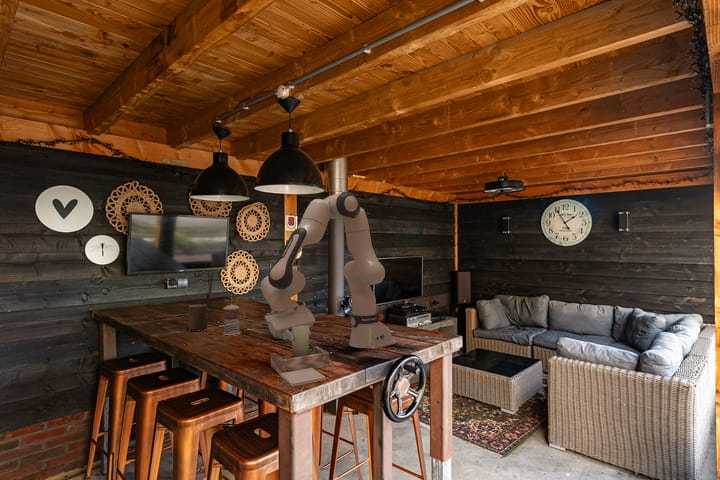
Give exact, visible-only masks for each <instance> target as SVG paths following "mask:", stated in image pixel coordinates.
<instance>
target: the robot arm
mask: <svg viewBox="0 0 720 480" xmlns="http://www.w3.org/2000/svg"><path fill="white" fill-rule="evenodd" d="M367 216H368V215H367V213H366V211H365V209H364V208H363V207H361V205H360V201H359V199H358V197H357V196H356V195H355V194H354V193H352V192H346V191H344V192H338V193H334V194H332V195H329V196H326V197H324V198H323V199H321V198H315V199H313V200H311V201H310V203H309V204H308V206H307V207H306V209H305V210H304V213H303V216H302V218H301V220H300V222H299V224H298V226H297V227H296V228H295V229H294V230H293V231H292V233H291V234H290V236H289V238H288V239H287V242H286V243H285V245H284V247H283V249H282V250H281V253H280V255H279V256H278V258H277V260H276V261H275V262H274V264H272V266H271V267H270V268H269V271H268V274H267V275H266V277H264V278H263V279H262V281H261V283H260V290H261V293H262V295H263V297H264V299H265V301H266V302H267V303H268V304H269V306H270V310H271V311H273V312H271V311H270V312H267V313H266V314H265V315H264V320H265V322H266V323H267V324H266V325H267V327H268V329H269V331H270V333H271V334H272V336H273V335H278V334H282V333H283V334H284V335H285V336H286V337H288V338H289V339H288V340H289V341H290V342H292V341H294V340H295V336H294V334H293V335H292V334H290V333H289V332H290V331H292V327H294V326H298V325H302V324H304V325H308V332H309V337H311V336H312V333H311V331H310V327H313V325H314V324H315V322H316V318H315V316H314V314H313V312H312V311H311V310H310V308H309V307H306V306H307V304H306V302H305V301H303V300H296V299H292V297H294V296H296V295H298V294H299V293H301V292H302V291H303V290H304V288H305V287H306V283H307V281H306V277H305V275H304V274H303V273H302V272H300V271H299V270H298V269H295V268H294V263H295V262H296V259H297V257H298V255H299V254H300V251H301V249H302V248H303V247H304V246H305V245H314V244H317V243H319V242H320V241H321V240H322V238H323V237H324V235H325V232H326V229H327V226H328V224H329V221H330V220H339V219H342V221H343V224H344V229H345V238H346V245H347V249H348V252H350V254H351V256H352V257H353V260H351V261H348V262H347V263H346V264H345V265H344V267H343V276H344V278H345V279H346V280H347V284H348V287H349V292H350V297H351V315H350V316H351V317H350V319H351V321H350V322H351V332H350V338H349V343H348V345H349V346H350V347H352V348H357V349H371V350H375V349H380V348H385V347H387V346H392V345H395V344H398V341H397V340H396V338H394V337H392V330H391V329H390V328H389V327H388V326H386V325H385V324H384V323H383V322H381V321H380V320H383V319H384V317H385V316H384V315H383V314H381V313H380V314H378V313H377V305H376V304H377V303H376V302H377V301H376V299H377V298H376V295H375V293H374V292H373V290H372V287H371V286H372V285H373V286H374V285H378V284H380V283H381V282H383V281H384V279H385V276H386V270H385V267H384V265H383V264H382V263H381V262H380V260H379V259H378V257H377V254H376V253H375V250H374V247H373V244H372V239H371V233H370V226H369V225H370V224H369V221H368V217H367Z"/></svg>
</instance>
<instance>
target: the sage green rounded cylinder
mask: <svg viewBox="0 0 720 480" xmlns="http://www.w3.org/2000/svg"><path fill="white" fill-rule="evenodd" d="M293 334H294V336H295V340H294V341H291V350H292V351H291V352H292V355H295V354H296V355H302V354H307V353H309V352H310V340H309V339H310V336H309V332H308V325H304V324H302V325H298V326H294V327H292V335H293Z"/></svg>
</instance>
